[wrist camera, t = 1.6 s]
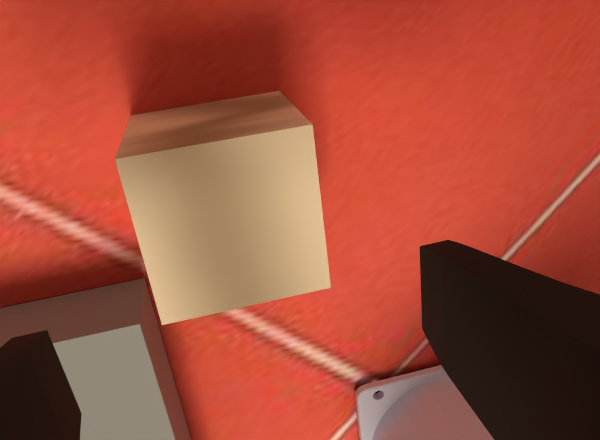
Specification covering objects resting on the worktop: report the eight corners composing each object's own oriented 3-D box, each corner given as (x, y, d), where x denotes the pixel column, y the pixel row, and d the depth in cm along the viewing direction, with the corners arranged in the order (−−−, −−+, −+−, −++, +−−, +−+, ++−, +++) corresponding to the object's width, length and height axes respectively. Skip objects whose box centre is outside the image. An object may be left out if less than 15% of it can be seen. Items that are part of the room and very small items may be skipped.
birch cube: (279, 90, 18) (312, 124, 14) (296, 221, 20) (330, 287, 16) (130, 114, 17) (115, 159, 13) (165, 247, 20) (162, 325, 15)
